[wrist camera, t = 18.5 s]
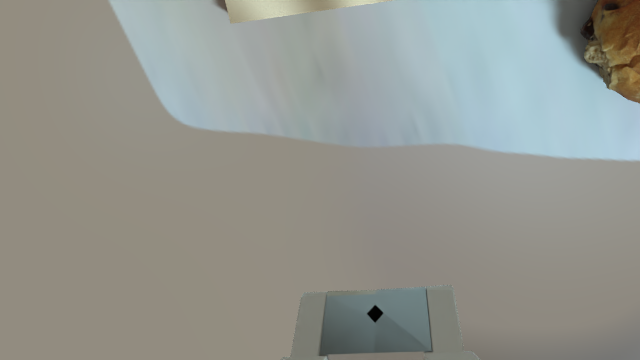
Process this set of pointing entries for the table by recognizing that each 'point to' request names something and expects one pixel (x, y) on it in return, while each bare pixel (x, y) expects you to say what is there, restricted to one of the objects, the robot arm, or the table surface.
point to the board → (283, 7)
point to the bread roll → (615, 45)
